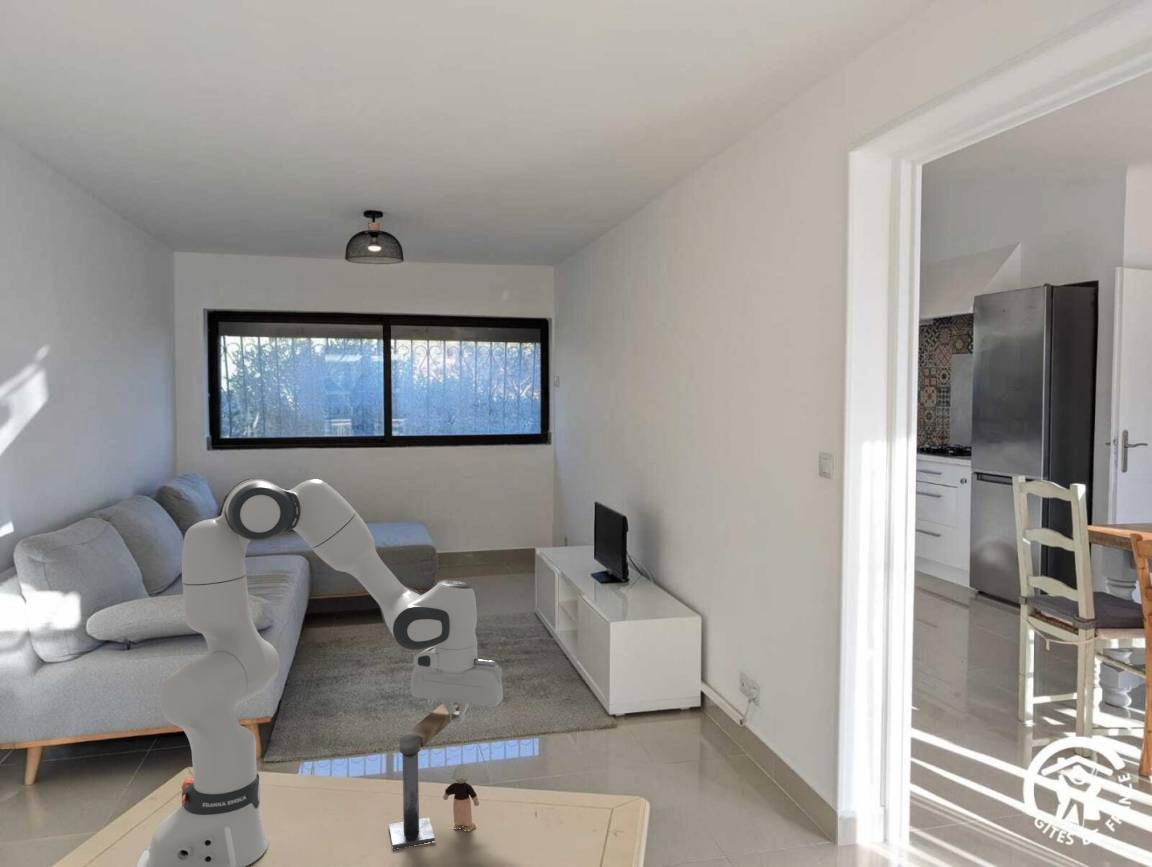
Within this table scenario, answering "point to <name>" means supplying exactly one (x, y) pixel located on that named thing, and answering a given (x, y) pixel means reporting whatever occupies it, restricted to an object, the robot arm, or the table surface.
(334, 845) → the table surface
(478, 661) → the robot arm
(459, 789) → the grandmother figurine
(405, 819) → the arm post
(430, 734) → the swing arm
